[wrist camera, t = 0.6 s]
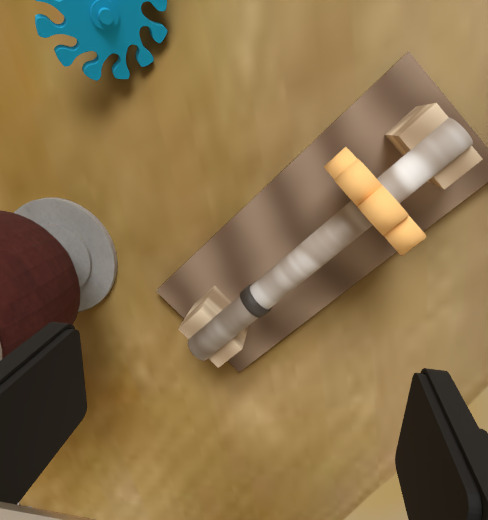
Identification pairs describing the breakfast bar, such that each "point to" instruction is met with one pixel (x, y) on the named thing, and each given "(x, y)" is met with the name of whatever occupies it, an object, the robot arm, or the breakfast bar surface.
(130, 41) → the gear
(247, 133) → the breakfast bar surface
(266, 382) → the breakfast bar surface
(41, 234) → the mate gourd
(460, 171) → the pipe stand
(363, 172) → the tan lobed rosette
